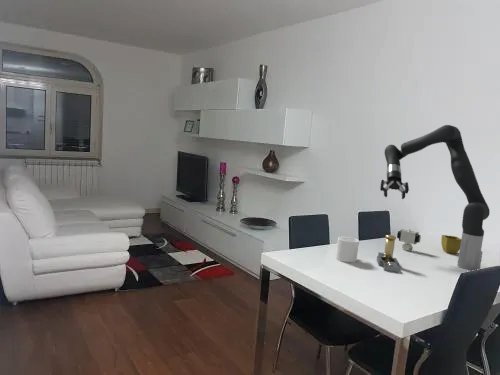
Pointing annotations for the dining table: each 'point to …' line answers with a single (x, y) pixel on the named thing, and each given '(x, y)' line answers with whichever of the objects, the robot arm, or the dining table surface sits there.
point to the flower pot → (450, 244)
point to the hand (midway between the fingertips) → (394, 197)
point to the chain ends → (388, 263)
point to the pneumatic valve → (408, 238)
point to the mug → (347, 249)
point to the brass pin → (389, 247)
